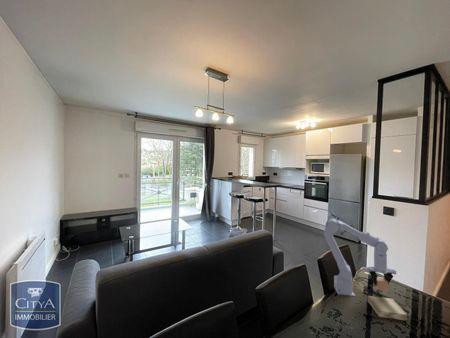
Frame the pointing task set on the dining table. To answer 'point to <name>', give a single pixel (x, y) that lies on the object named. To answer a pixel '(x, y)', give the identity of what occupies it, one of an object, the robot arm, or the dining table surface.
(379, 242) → the robot arm
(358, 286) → the dining table surface
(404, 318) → the birch base
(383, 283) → the terracotta cube
